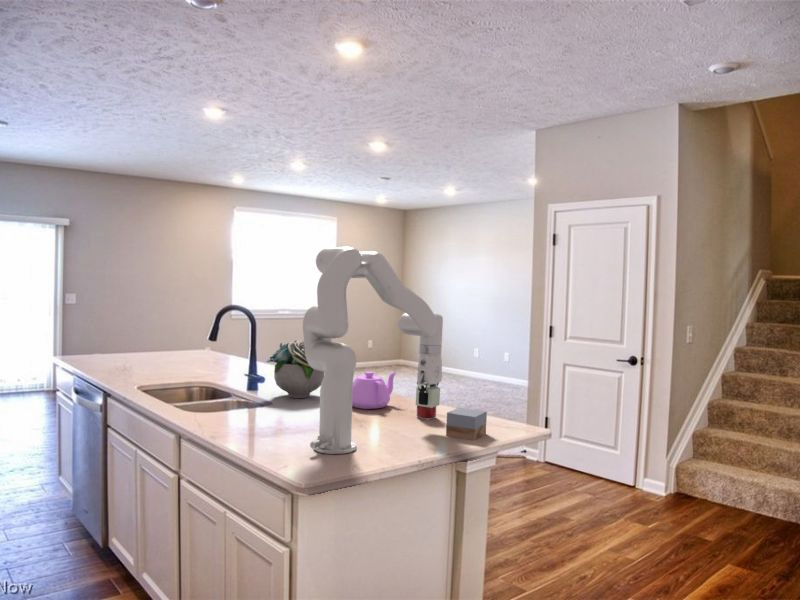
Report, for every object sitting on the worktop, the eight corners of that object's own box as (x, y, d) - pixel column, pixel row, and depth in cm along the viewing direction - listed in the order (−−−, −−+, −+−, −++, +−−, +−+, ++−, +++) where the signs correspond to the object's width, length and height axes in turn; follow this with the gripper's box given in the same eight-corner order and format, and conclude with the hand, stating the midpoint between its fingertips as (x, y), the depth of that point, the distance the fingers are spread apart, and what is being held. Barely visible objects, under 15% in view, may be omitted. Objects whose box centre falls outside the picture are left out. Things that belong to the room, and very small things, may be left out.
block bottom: (474, 441, 186) (474, 429, 186) (446, 436, 191) (446, 424, 191) (485, 435, 195) (486, 423, 195) (458, 430, 200) (458, 419, 200)
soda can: (419, 420, 212) (420, 387, 212) (414, 415, 219) (414, 384, 219) (438, 419, 214) (439, 387, 213) (432, 415, 221) (433, 383, 220)
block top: (474, 429, 186) (475, 417, 186) (446, 424, 191) (446, 412, 191) (486, 423, 195) (486, 411, 195) (459, 419, 200) (459, 407, 200)
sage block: (431, 407, 193) (432, 389, 193) (415, 405, 196) (416, 387, 196) (439, 405, 198) (440, 387, 198) (423, 402, 201) (424, 385, 201)
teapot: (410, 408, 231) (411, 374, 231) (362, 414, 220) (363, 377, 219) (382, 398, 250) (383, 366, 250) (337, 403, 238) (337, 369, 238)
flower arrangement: (303, 405, 232) (304, 344, 232) (257, 397, 245) (258, 339, 244) (340, 395, 254) (341, 339, 253) (295, 389, 266) (296, 336, 266)
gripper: (428, 352, 188) (426, 408, 188) (450, 349, 203) (448, 401, 203) (408, 350, 191) (405, 405, 192) (431, 347, 206) (429, 398, 207)
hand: (427, 402), depth 197 cm, fingers closed on sage block, 6 cm apart
